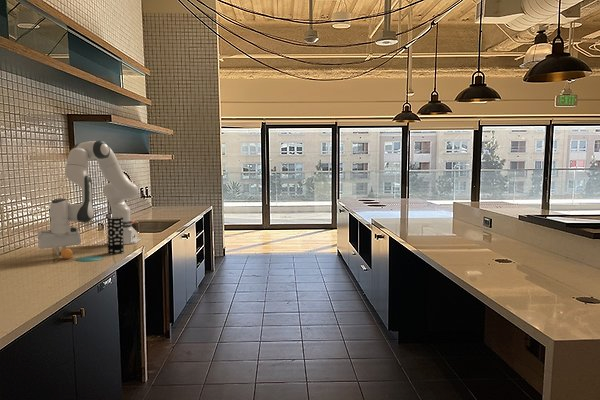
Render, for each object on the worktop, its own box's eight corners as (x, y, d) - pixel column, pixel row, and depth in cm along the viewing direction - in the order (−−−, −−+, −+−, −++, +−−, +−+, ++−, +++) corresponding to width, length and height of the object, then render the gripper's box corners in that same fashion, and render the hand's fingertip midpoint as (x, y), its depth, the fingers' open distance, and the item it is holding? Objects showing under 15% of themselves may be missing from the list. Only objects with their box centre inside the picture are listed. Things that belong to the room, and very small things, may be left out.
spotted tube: (117, 254, 248) (117, 219, 247) (104, 253, 250) (104, 218, 248) (126, 251, 256) (126, 217, 255) (113, 251, 258) (113, 216, 257)
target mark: (85, 256, 243) (85, 255, 243) (107, 256, 242) (107, 256, 242) (70, 261, 230) (70, 260, 230) (94, 261, 229) (94, 261, 229)
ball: (69, 244, 236) (76, 252, 236) (66, 250, 239) (72, 258, 238) (60, 248, 232) (67, 256, 231) (57, 254, 234) (63, 262, 234)
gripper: (39, 231, 227) (40, 258, 228) (81, 228, 241) (82, 253, 242) (35, 230, 231) (36, 256, 232) (77, 227, 245) (78, 251, 246)
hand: (60, 254), depth 237 cm, fingers closed
